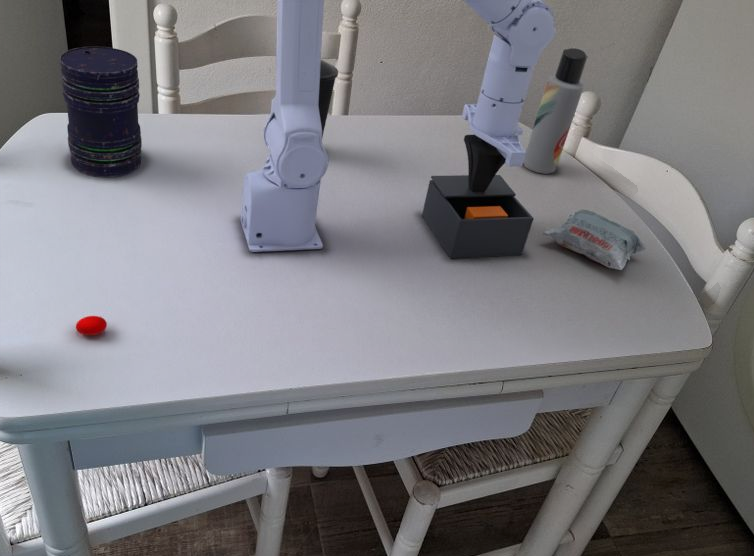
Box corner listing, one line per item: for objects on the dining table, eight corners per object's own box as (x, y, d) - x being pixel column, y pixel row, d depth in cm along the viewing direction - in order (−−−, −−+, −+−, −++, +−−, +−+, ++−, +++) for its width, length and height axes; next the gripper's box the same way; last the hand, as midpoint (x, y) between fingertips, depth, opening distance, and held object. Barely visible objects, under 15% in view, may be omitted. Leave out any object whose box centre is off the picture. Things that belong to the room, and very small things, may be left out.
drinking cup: (326, 165, 111) (343, 36, 99) (278, 158, 110) (288, 29, 99) (328, 144, 117) (344, 21, 105) (282, 138, 116) (293, 13, 105)
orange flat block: (465, 248, 96) (474, 216, 93) (458, 238, 98) (467, 207, 95) (498, 246, 97) (508, 215, 94) (491, 236, 99) (500, 205, 96)
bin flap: (430, 177, 98) (431, 175, 98) (499, 176, 101) (499, 174, 101) (444, 197, 94) (445, 195, 94) (515, 196, 98) (515, 194, 97)
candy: (107, 326, 74) (106, 312, 73) (106, 339, 72) (105, 324, 71) (77, 327, 73) (75, 313, 72) (75, 340, 72) (73, 326, 70)
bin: (421, 216, 102) (429, 179, 98) (488, 213, 105) (498, 178, 102) (450, 258, 94) (460, 220, 90) (521, 254, 97) (533, 218, 94)
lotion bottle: (559, 167, 122) (598, 52, 111) (548, 178, 118) (588, 60, 107) (529, 155, 124) (564, 42, 113) (517, 166, 120) (553, 49, 109)
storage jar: (156, 166, 103) (153, 65, 94) (95, 184, 96) (86, 78, 88) (116, 140, 108) (110, 42, 99) (56, 156, 101) (43, 52, 92)
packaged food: (616, 283, 94) (629, 253, 92) (538, 244, 100) (549, 214, 97) (640, 261, 100) (653, 232, 97) (565, 225, 106) (576, 196, 103)
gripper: (558, 118, 85) (527, 216, 93) (505, 73, 96) (481, 164, 103) (506, 118, 82) (478, 217, 90) (458, 72, 93) (437, 164, 101)
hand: (477, 189), depth 97 cm, fingers closed
